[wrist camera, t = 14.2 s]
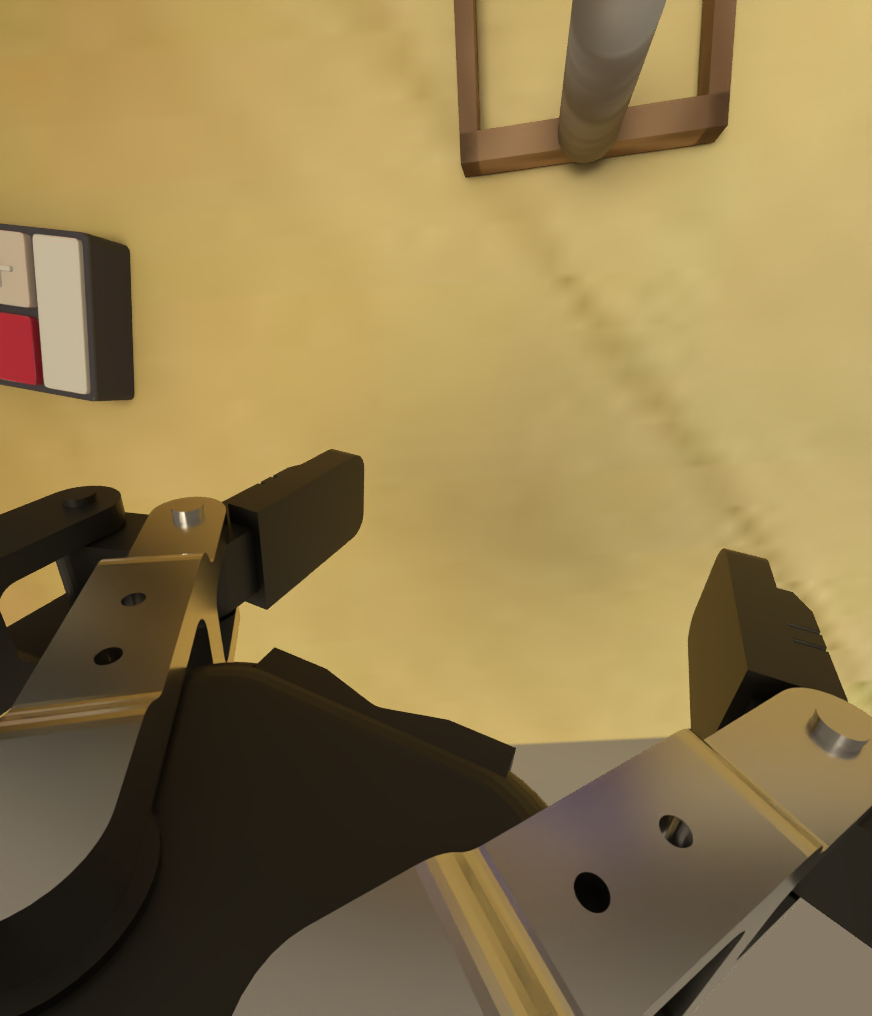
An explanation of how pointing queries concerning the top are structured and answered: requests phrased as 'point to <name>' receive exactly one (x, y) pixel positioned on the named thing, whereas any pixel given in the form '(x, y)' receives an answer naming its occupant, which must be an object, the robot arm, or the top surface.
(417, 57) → the top surface
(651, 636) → the top surface
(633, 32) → the rectangular wooden frame
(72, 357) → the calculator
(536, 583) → the top surface
